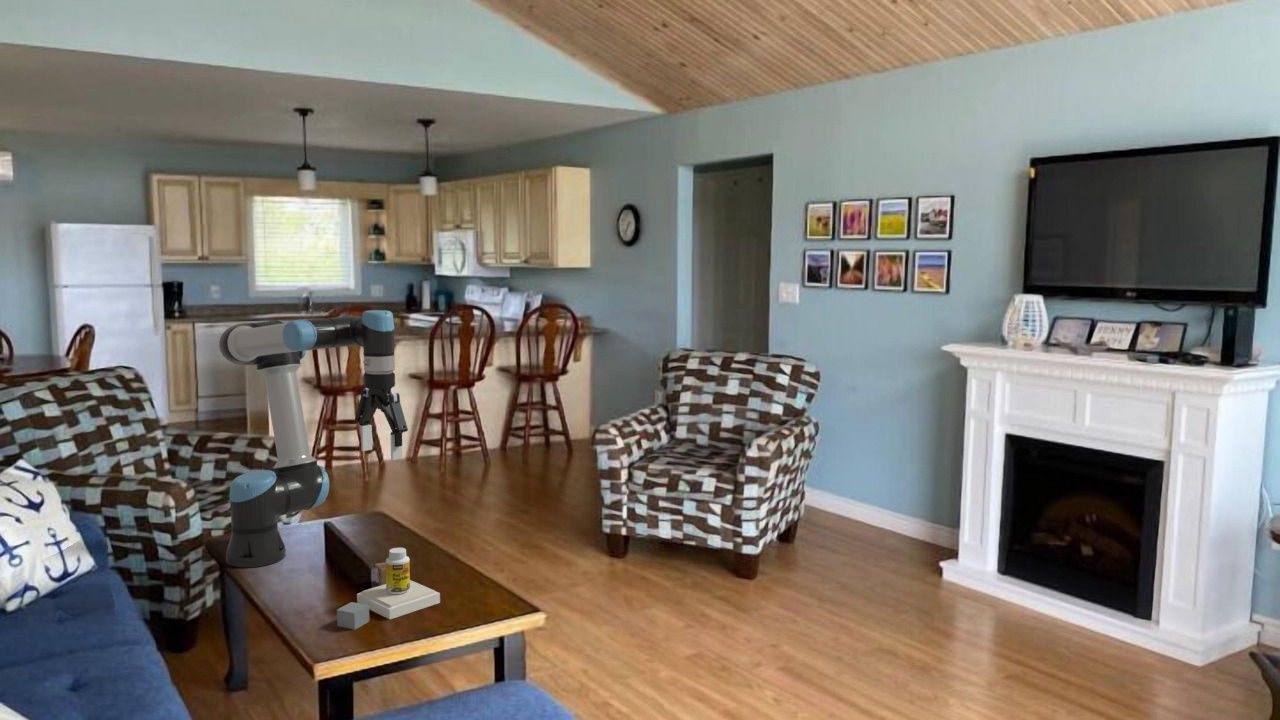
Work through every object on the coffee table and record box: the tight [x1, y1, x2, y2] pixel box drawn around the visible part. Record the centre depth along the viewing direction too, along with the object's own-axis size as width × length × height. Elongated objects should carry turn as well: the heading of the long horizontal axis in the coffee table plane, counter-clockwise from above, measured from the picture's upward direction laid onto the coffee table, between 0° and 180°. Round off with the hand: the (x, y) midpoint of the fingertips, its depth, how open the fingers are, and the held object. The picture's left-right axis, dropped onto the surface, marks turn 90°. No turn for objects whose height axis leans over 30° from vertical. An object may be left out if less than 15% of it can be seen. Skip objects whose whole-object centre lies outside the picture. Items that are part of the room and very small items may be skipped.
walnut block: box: [375, 561, 386, 586], centre depth 240 cm, size 5×4×5 cm
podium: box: [356, 579, 441, 620], centre depth 227 cm, size 14×14×3 cm
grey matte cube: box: [336, 601, 370, 631], centre depth 215 cm, size 5×5×4 cm
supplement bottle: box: [385, 547, 411, 594], centre depth 226 cm, size 6×6×10 cm
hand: (381, 454), depth 240 cm, fingers open, 13 cm apart
